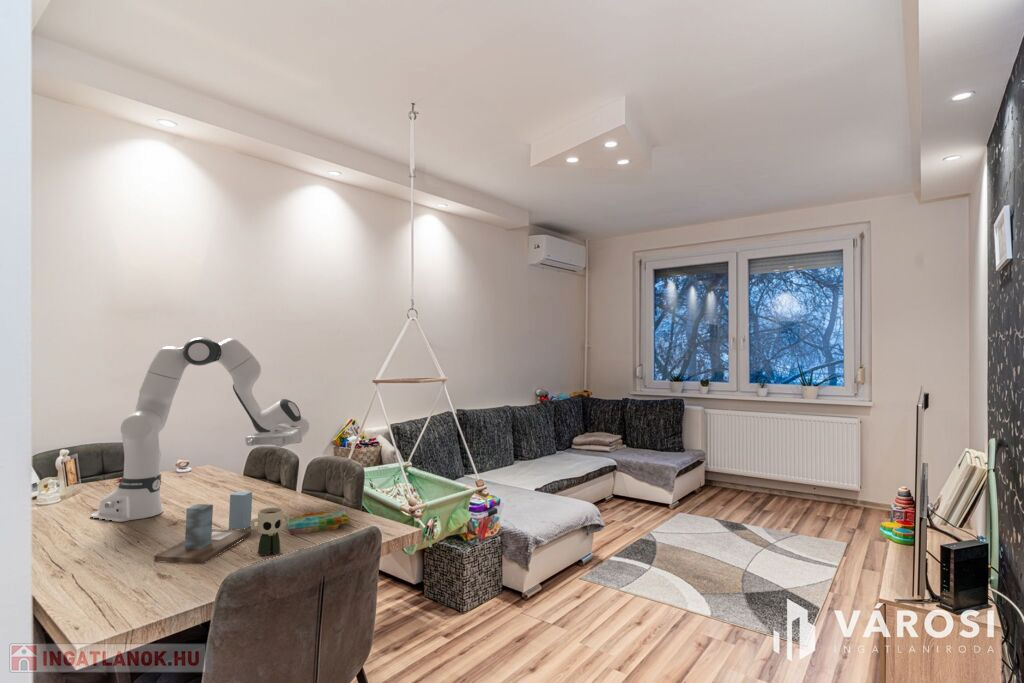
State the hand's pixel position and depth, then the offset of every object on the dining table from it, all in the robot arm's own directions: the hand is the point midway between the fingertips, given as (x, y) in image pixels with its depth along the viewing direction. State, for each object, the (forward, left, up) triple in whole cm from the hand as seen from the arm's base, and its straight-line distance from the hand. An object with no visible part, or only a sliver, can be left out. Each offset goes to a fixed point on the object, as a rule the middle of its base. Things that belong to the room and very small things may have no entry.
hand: (260, 443), depth 193 cm
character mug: (+23, -33, -28) cm, 49 cm away
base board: (+1, -31, -27) cm, 42 cm away
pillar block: (+1, -12, -27) cm, 30 cm away
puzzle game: (+27, -8, -28) cm, 39 cm away
